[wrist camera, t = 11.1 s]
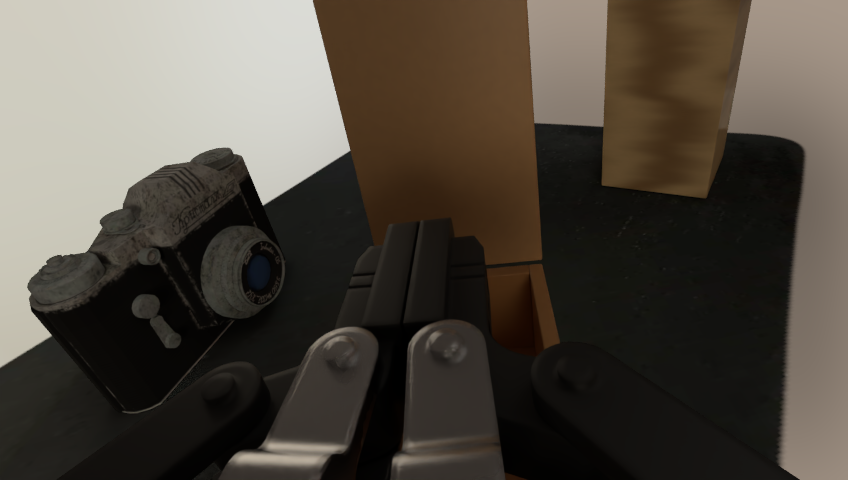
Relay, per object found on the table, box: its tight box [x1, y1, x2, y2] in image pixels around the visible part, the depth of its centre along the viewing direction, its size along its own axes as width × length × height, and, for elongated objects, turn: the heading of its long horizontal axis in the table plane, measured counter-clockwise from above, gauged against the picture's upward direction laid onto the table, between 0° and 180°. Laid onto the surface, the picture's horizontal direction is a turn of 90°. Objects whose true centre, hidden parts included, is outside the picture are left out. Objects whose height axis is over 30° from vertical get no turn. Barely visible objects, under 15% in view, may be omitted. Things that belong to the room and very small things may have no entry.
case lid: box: [313, 0, 542, 265], centre depth 18 cm, size 11×7×1 cm
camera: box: [27, 148, 286, 413], centre depth 27 cm, size 15×7×10 cm, turn 163°
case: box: [486, 264, 560, 480], centre depth 18 cm, size 11×7×5 cm
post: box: [602, 0, 752, 198], centre depth 32 cm, size 7×7×15 cm
